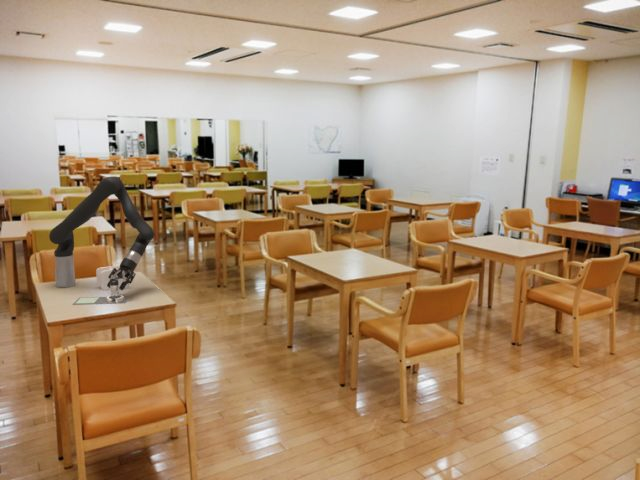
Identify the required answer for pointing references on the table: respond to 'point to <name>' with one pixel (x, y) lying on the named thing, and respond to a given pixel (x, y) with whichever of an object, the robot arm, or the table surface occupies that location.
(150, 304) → the table surface
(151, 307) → the table surface
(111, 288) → the clear glass bottle
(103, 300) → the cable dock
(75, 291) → the table surface
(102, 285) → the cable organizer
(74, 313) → the table surface
